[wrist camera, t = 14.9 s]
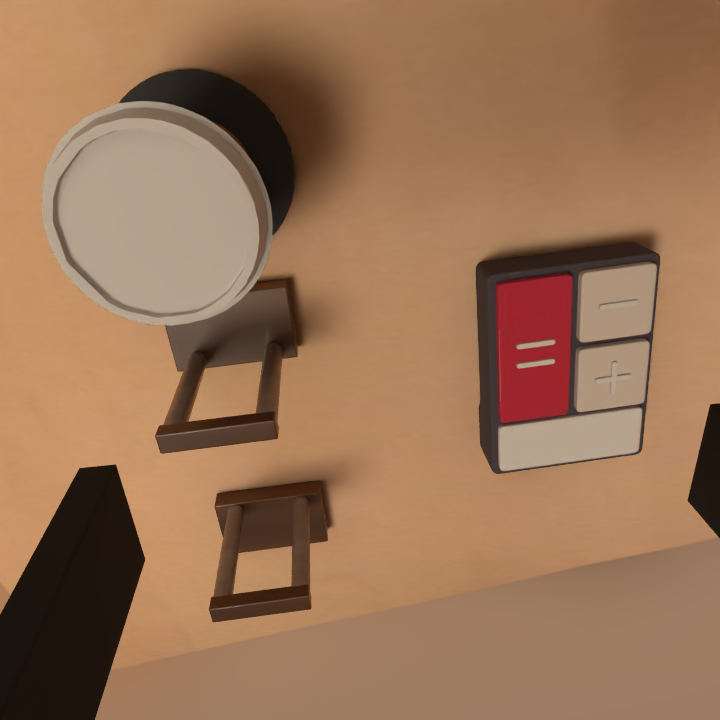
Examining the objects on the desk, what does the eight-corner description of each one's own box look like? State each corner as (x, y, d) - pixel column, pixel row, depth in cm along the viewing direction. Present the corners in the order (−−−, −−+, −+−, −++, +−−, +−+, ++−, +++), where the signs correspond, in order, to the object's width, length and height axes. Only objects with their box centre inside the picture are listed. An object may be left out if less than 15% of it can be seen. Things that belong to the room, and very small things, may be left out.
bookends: (163, 293, 39) (116, 375, 29) (286, 278, 39) (280, 355, 29) (229, 541, 49) (210, 663, 39) (327, 528, 49) (332, 646, 40)
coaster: (78, 81, 33) (74, 81, 33) (278, 58, 33) (278, 59, 33) (133, 271, 38) (130, 274, 38) (306, 250, 38) (305, 253, 38)
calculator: (668, 254, 37) (647, 460, 43) (634, 238, 40) (619, 429, 47) (490, 278, 36) (495, 482, 43) (472, 260, 40) (479, 448, 47)
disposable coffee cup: (92, 97, 33) (-10, 120, 22) (265, 76, 33) (247, 89, 23) (140, 263, 37) (74, 348, 27) (293, 243, 38) (288, 321, 27)
